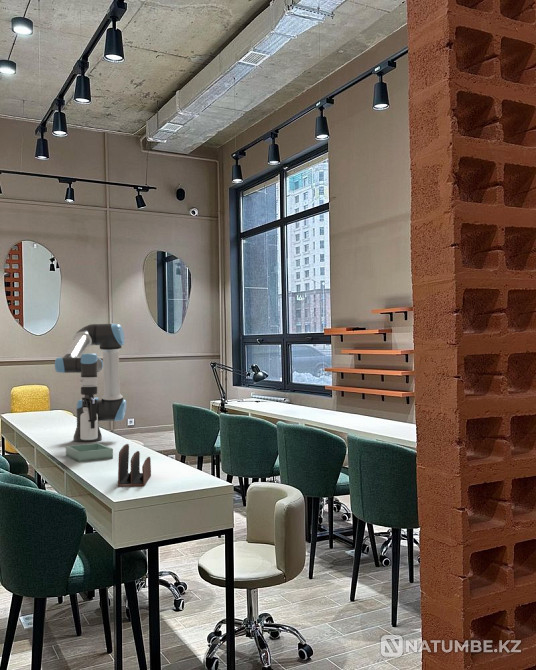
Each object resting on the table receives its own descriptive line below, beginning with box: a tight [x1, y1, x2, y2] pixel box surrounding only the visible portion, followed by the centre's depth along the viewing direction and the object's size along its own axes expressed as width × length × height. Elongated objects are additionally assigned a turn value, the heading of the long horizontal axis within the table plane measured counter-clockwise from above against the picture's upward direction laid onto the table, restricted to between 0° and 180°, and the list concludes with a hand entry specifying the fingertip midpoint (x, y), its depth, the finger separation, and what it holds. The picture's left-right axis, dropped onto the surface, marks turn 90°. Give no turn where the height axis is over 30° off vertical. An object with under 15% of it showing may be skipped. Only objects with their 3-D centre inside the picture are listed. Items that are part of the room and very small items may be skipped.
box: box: [65, 442, 114, 463], centre depth 307 cm, size 20×16×4 cm
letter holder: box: [117, 443, 152, 488], centre depth 254 cm, size 10×20×14 cm, turn 3°
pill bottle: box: [80, 407, 99, 440], centre depth 307 cm, size 8×8×15 cm
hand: (89, 434), depth 307 cm, fingers closed on pill bottle, 8 cm apart
